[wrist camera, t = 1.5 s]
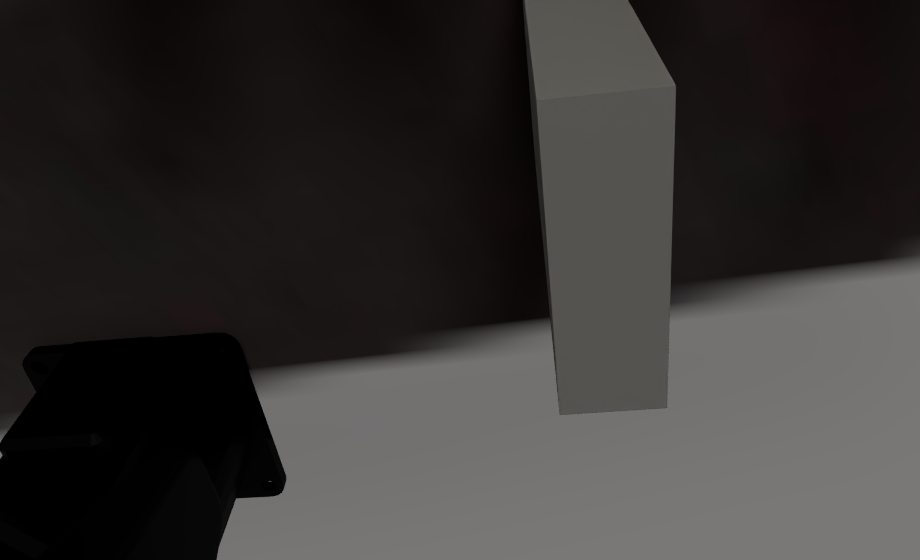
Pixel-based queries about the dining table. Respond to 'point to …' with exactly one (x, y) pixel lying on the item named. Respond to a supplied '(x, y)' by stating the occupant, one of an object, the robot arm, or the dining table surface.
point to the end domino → (603, 199)
